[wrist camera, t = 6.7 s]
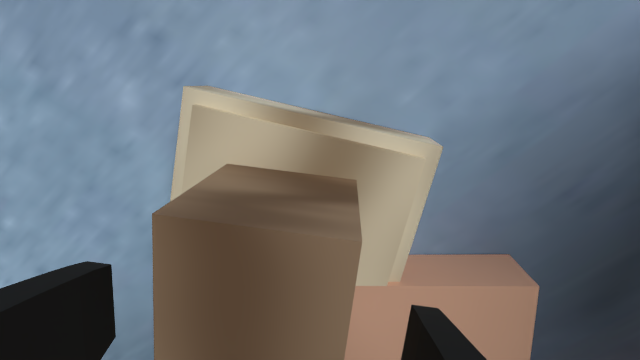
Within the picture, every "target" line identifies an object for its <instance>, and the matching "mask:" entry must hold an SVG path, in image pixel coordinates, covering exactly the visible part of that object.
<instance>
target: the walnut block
mask: <svg viewBox="0 0 640 360" xmlns="http://www.w3.org/2000/svg"><path fill="white" fill-rule="evenodd" d="M152 236H153V307H154V360H344V357H345V350H346V344H347V338H348V331H349V325H350V318H351V312H352V305H353V299H354V292H355V286H356V279H357V273H358V266H359V260H360V253H361V247H362V233H361V223H360V212H359V202H358V191H357V180H354V179H346V178H338V177H330V176H322V175H314V174H306V173H298V172H290V171H282V170H274V169H266V168H258V167H250V166H242V165H234V164H226V165H224V166H223V167H221V168H220V169H218V170H217V171H215V172H214V173H212V174H211V175H209V176H208V177H206V178H205V179H203V180H202V181H200V182H199V183H198V184H196V185H195V186H193V187H192V188H190V189H189V190H187V191H186V192H184V193H183V194H181V195H180V196H178V197H177V198H175V199H174V200H172V201H171V202H169V203H168V204H166V205H165V206H163V207H162V208H160V209H159V210H157V211H156V212H154V213H153V214H152Z"/></svg>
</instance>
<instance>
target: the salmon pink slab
mask: <svg viewBox="0 0 640 360" xmlns="http://www.w3.org/2000/svg"><path fill="white" fill-rule="evenodd" d="M538 293H539V285H538V284H537V283H536V282H535V281H534V280H533V279H532V278H531V277H530V276H529V275H528V274H527V273H526V272H525V271H524V270H523V269H522V267H521V266H520V265H519V264H518V263H517V262H516V261H515V260H514V259H513V258H512V257H511V256H510V255H509V254H473V255H408V258H407V261H406V265H405V268H404V271H403V274H402V277H401V280H400V282H388V284H387V286H355V292H354V299H353V305H352V312H351V318H350V325H349V331H348V338H347V344H346V350H345V357H344V360H401V356H402V351H403V346H404V341H405V336H406V331H407V325H408V320H409V315H410V310H411V305H419V306H426V307H434V308H439V309H440V310H441V311H442V312H443V313H444V314H445V315H446V316H447V317H448V319H449V320H450V321H451V322H452V323H453V324H454V325H455V326H456V327H457V328H458V329H459V330H460V331H461V333H462V334H463V335H464V336H465V337H466V338H467V339H468V340H469V341H470V342H471V343H472V344H473V345H474V346H475V348H476V349H477V350H478V351H479V352H480V353H481V354H482V355H483V356H484V357H485V358H486V359H487V360H530V356H531V348H532V340H533V332H534V325H535V317H536V309H537V301H538Z"/></svg>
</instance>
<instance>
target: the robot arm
mask: <svg viewBox="0 0 640 360" xmlns="http://www.w3.org/2000/svg"><path fill="white" fill-rule="evenodd" d="M115 337H116V335H115V319H114V302H113V286H112V269H111V264H103V263H96V262H88V261H87V262H82V263H78V264H74V265H71V266H67V267H64V268H61V269H57V270H54V271H51V272H48V273H45V274H42V275H39V276H36V277H33V278H30V279H27V280H24V281H21V282H18V283H15V284H12V285H9V286H7V287H4V288H1V289H0V360H101V358H102V357H103V355H104V354H105V352H106V351H107V349H108V348H109V346H110V344H111V343H112V341H113V340H114V338H115ZM401 360H487V359H486V358H485V357H484V356H483V355H482V354H481V353H480V352H479V351H478V350H477V349H476V348H475V346H474V345H473V344H472V343H471V342H470V341H469V340H468V339H467V338H466V337H465V336H464V335H463V334H462V333H461V331H460V330H459V329H458V328H457V327H456V326H455V325H454V324H453V323H452V322H451V321H450V320H449V319H448V317H447V316H446V315H445V314H444V313H443V312H442V311H441V310H440V309H439V308H434V307H426V306H419V305H411V310H410V315H409V320H408V325H407V331H406V336H405V341H404V346H403V351H402V356H401Z"/></svg>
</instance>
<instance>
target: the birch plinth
mask: <svg viewBox="0 0 640 360" xmlns="http://www.w3.org/2000/svg"><path fill="white" fill-rule="evenodd" d="M442 149H443V146H441V145H440V144H438V143H437V142H435V141H434V140H432V139H431V138H429V137H425V136H421V135H416V134H412V133H408V132H403V131H399V130H395V129H391V128H386V127H382V126H378V125H373V124H369V123H365V122H361V121H356V120H352V119H348V118H343V117H339V116H335V115H331V114H326V113H322V112H318V111H314V110H309V109H305V108H301V107H296V106H292V105H288V104H284V103H279V102H275V101H271V100H266V99H262V98H258V97H254V96H249V95H245V94H241V93H236V92H232V91H228V90H224V89H219V88H215V87H211V86H184V87H183V96H182V104H181V113H180V122H179V130H178V139H177V148H176V156H175V165H174V173H173V182H172V191H171V199H170V202H171V201H172V200H174V199H175V198H177V197H178V196H180V195H181V194H183V193H184V192H186V191H187V190H189V189H190V188H192V187H193V186H195V185H196V184H198V183H199V182H200V181H202V180H203V179H205V178H206V177H208V176H209V175H211V174H212V173H214V172H215V171H217V170H218V169H220V168H221V167H223V166H224V165H226V164H234V165H242V166H250V167H258V168H266V169H274V170H282V171H290V172H298V173H306V174H314V175H322V176H330V177H338V178H346V179H354V180H357V191H358V202H359V212H360V223H361V233H362V247H361V253H360V260H359V266H358V273H357V279H356V286H387V284H388V282H400V280H401V277H402V274H403V271H404V268H405V265H406V261H407V258H408V255H409V252H410V249H411V246H412V243H413V240H414V237H415V233H416V230H417V227H418V224H419V221H420V218H421V215H422V212H423V209H424V205H425V202H426V199H427V196H428V193H429V190H430V187H431V184H432V181H433V177H434V174H435V171H436V168H437V165H438V162H439V159H440V156H441V153H442Z"/></svg>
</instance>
